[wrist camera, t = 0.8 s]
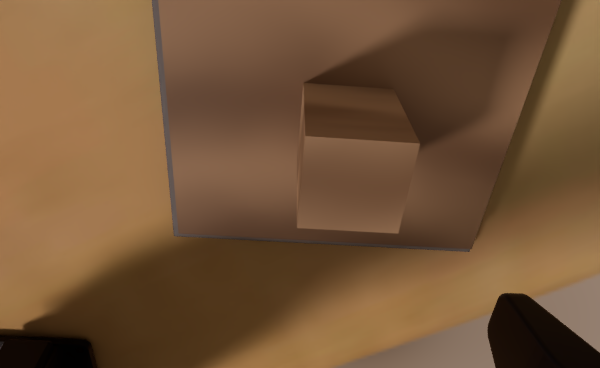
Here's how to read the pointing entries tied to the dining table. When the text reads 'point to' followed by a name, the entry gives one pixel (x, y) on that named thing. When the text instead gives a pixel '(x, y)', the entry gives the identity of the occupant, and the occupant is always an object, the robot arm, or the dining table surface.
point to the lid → (345, 114)
